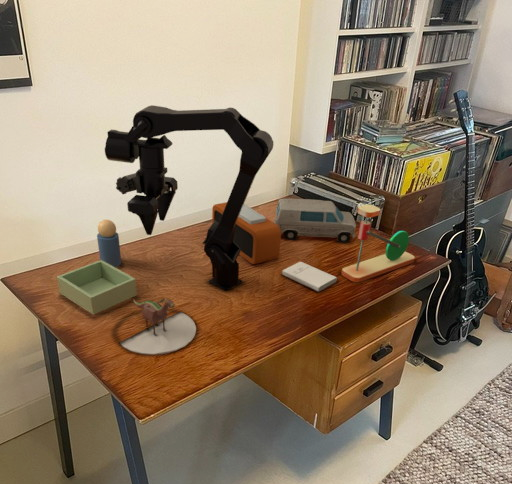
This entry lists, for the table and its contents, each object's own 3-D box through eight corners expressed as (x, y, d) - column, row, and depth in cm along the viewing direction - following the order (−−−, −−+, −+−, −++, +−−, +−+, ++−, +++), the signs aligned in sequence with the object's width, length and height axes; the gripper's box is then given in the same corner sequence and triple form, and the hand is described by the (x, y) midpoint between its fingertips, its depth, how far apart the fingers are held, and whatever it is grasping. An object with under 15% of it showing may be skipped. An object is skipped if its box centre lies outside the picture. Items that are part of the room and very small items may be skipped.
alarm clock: (211, 234, 161) (211, 198, 155) (234, 229, 165) (236, 194, 159) (254, 267, 146) (257, 228, 139) (279, 260, 150) (282, 223, 143)
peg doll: (122, 269, 140) (118, 223, 133) (102, 271, 139) (96, 225, 131) (120, 260, 145) (115, 215, 137) (100, 262, 143) (94, 217, 135)
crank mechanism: (355, 283, 141) (368, 215, 130) (338, 273, 145) (349, 206, 134) (416, 261, 154) (432, 197, 143) (399, 252, 158) (413, 190, 147)
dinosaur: (212, 333, 119) (212, 291, 112) (145, 365, 108) (141, 321, 102) (164, 300, 129) (162, 261, 122) (99, 327, 118) (93, 285, 112)
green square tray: (137, 298, 129) (135, 278, 126) (93, 318, 121) (90, 297, 118) (103, 278, 136) (101, 259, 133) (60, 296, 128) (56, 276, 125)
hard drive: (318, 292, 136) (281, 275, 143) (336, 282, 141) (300, 265, 148) (318, 287, 135) (282, 269, 142) (337, 276, 140) (301, 260, 147)
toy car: (354, 243, 161) (359, 212, 156) (274, 239, 161) (276, 208, 155) (349, 229, 170) (354, 199, 164) (273, 225, 169) (275, 195, 164)
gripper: (134, 150, 132) (139, 209, 141) (102, 173, 117) (110, 238, 126) (177, 155, 130) (179, 215, 140) (150, 179, 115) (154, 244, 125)
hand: (155, 227), depth 132 cm, fingers open, 9 cm apart
